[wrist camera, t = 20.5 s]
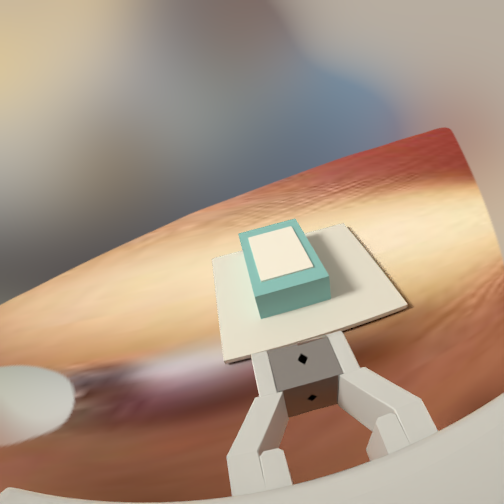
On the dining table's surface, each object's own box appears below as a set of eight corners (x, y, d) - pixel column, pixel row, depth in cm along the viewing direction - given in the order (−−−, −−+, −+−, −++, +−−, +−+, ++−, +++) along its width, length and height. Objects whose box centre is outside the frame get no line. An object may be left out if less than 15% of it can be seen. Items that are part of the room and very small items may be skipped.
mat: (225, 363, 23) (223, 360, 23) (213, 261, 35) (211, 258, 35) (407, 307, 24) (407, 304, 23) (343, 226, 35) (343, 223, 35)
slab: (254, 295, 25) (238, 232, 33) (260, 319, 26) (244, 253, 34) (328, 274, 25) (294, 217, 33) (330, 298, 26) (298, 238, 34)
